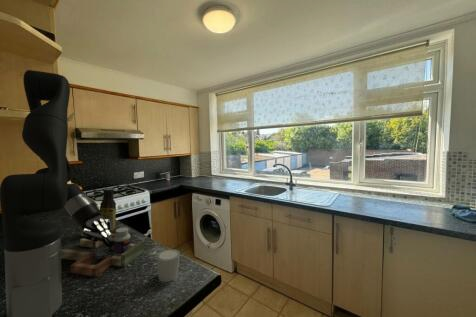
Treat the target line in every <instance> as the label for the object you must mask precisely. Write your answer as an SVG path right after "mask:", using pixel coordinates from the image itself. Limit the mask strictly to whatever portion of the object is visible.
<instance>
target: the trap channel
mask: <svg viewBox="0 0 476 317" xmlns="http://www.w3.org/2000/svg"><path fill="white" fill-rule="evenodd" d="M111 236H112V237H113V238H114V237H115V236H116V233H111ZM103 244H104V243H103V242H102V241H97V242H94V241H91V240H88V239H84V238H81V239H79V247H86V248H93V249H97V248H98V247H100V246H102V245H103ZM109 250H110V251H113V246H112V247H111V248H109ZM142 253H144V241H143V240H139V241H137V242H136V243H130V248H129V249H128V250H127V251H125V252H124V253H123V254H121V256H114V255H112V254H110V255H109V256H107V257H106V258H105V259H103V260H102V261H100V262H99V263H97V264H92V263H93V262H94V261H96V253H95V252H89V251H81V250H74V249H73V250H72V249H64V248H61V260H62V259H63V260H70V261H71V260H72V261H75V262H73V263H72V264H69V265H70V274H74V275H83V276H89V277H96V278H97V277H98V276H99V275H100V274H102V273H103V272H104V271H105V270H107V269H108V268H110V267H111V266H114V267H122V268H126V267H127V266H128V265H129V264H130V263H131V262H133V261H134V260H135V259H137V258H138V257H139V256H140V255H141V254H142Z"/></svg>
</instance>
